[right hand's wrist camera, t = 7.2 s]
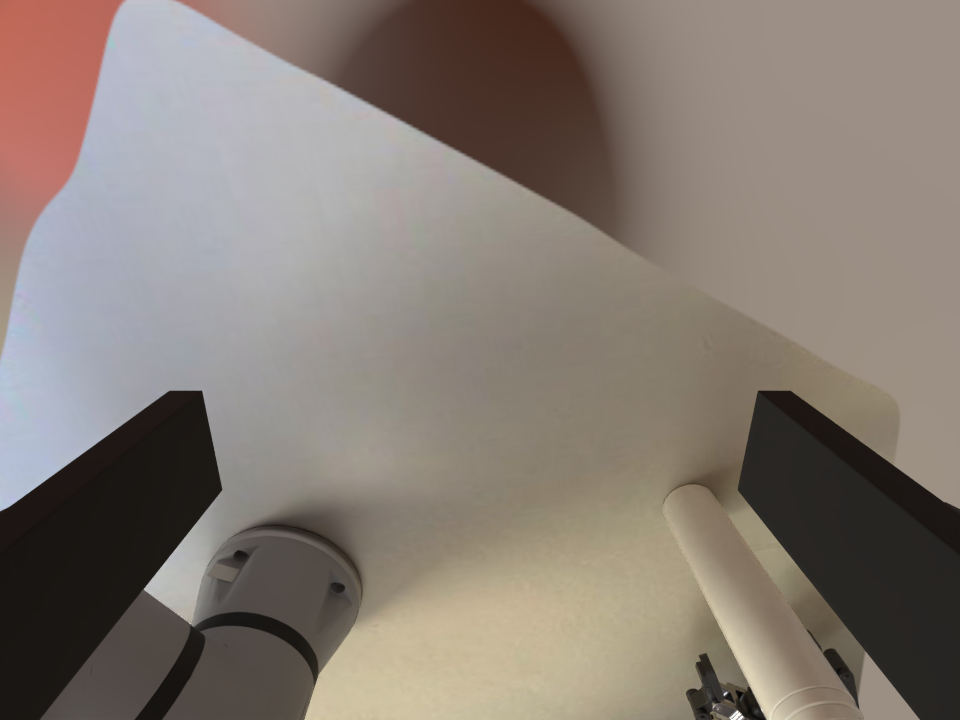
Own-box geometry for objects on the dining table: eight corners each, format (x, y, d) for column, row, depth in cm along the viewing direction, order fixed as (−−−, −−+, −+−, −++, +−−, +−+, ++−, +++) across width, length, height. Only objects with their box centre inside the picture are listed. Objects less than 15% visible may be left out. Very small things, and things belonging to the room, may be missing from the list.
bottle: (668, 533, 50) (837, 876, 26) (656, 493, 48) (825, 818, 24) (720, 519, 49) (942, 857, 25) (710, 477, 48) (936, 796, 24)
